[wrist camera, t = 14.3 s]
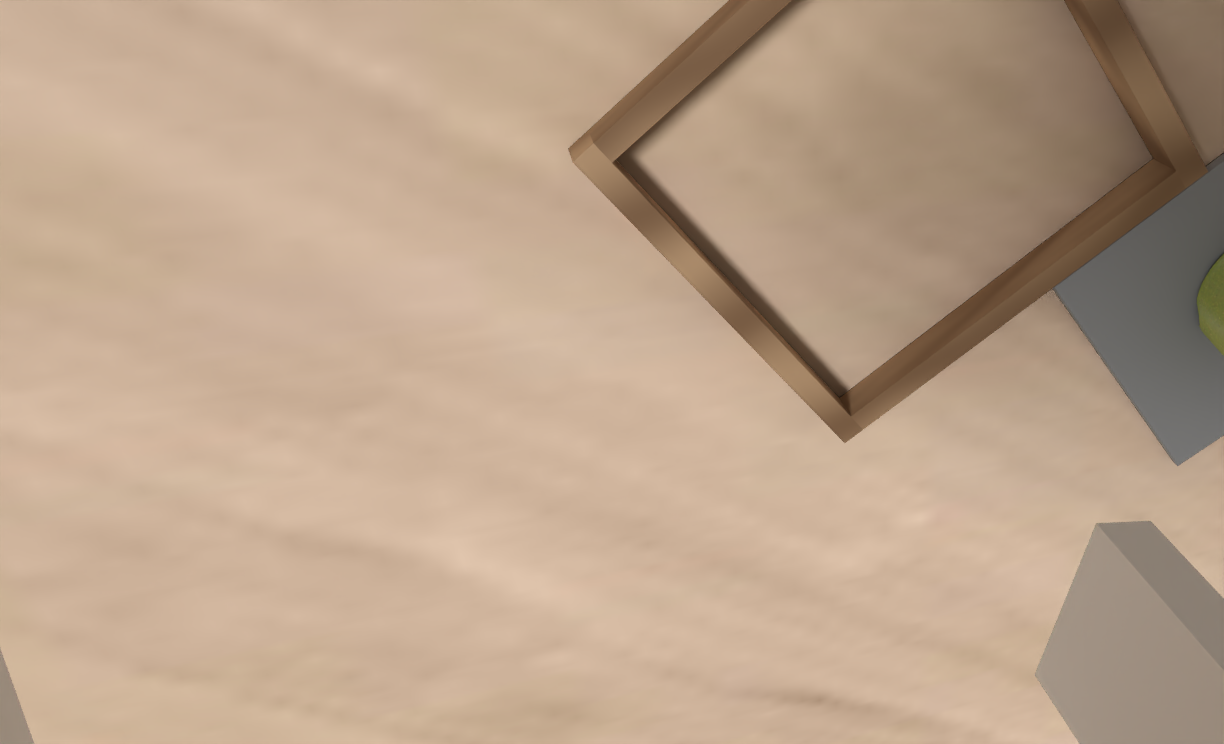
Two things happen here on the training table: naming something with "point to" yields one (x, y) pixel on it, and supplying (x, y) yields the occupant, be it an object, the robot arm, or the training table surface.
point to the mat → (1160, 315)
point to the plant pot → (1213, 305)
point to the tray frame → (978, 315)
